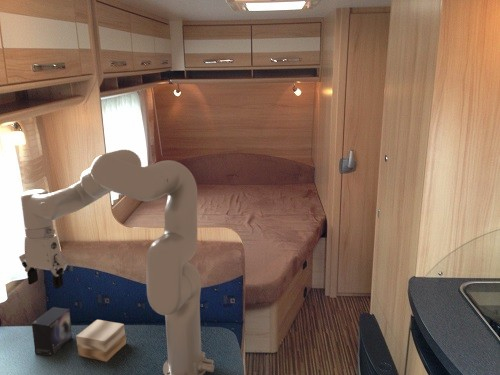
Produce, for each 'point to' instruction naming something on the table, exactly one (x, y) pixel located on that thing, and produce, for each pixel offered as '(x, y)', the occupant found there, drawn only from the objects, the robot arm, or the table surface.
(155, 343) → the table surface
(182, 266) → the robot arm
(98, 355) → the oak slab
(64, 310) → the small box
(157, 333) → the table surface
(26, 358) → the table surface
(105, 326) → the ash slab
